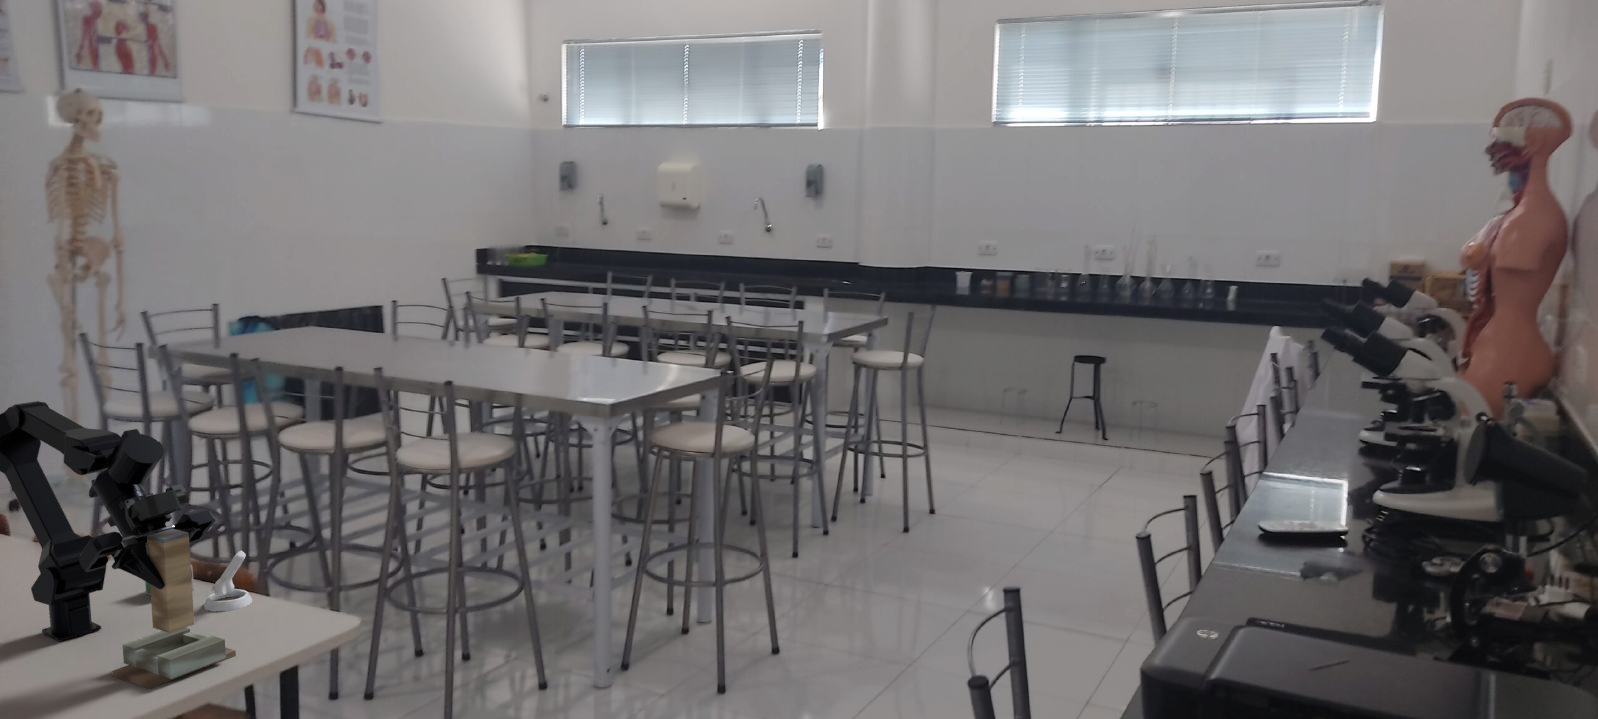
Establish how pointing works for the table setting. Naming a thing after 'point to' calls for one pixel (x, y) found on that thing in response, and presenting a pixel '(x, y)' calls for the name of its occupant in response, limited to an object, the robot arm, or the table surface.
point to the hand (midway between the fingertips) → (176, 583)
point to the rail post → (171, 580)
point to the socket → (169, 656)
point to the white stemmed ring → (228, 589)
